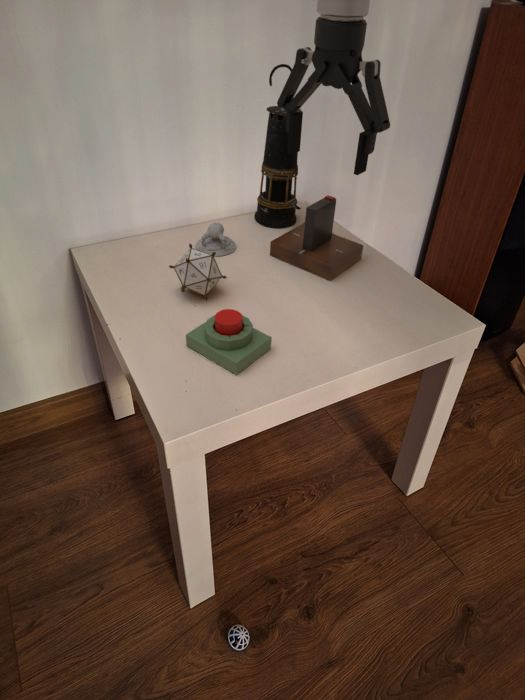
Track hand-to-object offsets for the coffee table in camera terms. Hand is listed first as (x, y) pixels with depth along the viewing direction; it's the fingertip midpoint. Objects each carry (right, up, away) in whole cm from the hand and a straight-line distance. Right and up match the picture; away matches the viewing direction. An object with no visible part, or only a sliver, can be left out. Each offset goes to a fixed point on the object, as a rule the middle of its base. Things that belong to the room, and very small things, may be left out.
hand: (325, 162), depth 91 cm
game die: (-22, -22, +1) cm, 31 cm away
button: (-16, -29, -13) cm, 35 cm away
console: (0, -14, +12) cm, 19 cm away
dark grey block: (0, -12, +10) cm, 15 cm away
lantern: (-8, -4, +25) cm, 26 cm away
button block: (-16, -32, -11) cm, 37 cm away
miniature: (-20, -12, +14) cm, 27 cm away
